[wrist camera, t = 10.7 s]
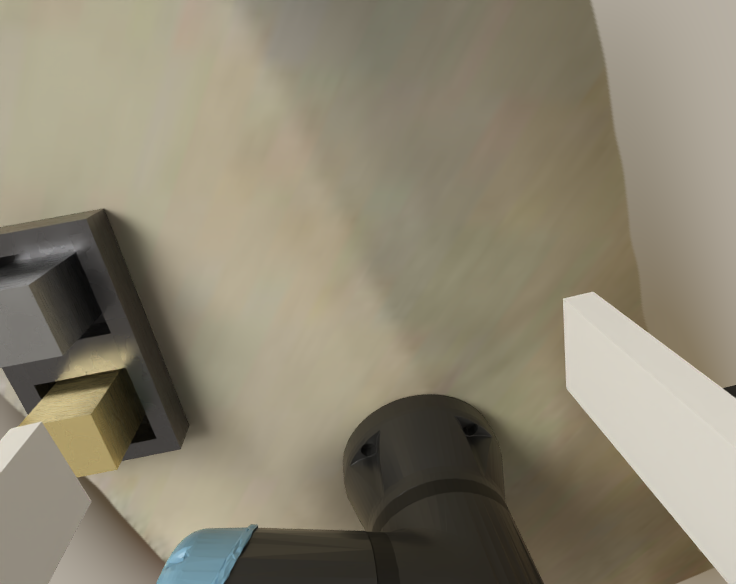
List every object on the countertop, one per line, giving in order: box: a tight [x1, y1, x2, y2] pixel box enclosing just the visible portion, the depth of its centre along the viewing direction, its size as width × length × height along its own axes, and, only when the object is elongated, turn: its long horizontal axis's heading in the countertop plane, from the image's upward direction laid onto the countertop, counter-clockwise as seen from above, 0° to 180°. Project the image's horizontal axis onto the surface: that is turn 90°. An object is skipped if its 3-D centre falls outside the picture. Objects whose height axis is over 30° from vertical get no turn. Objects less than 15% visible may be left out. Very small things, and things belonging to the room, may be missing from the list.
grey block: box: [0, 250, 102, 368], centre depth 33 cm, size 5×5×7 cm
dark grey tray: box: [0, 209, 189, 461], centre depth 37 cm, size 20×10×3 cm, turn 9°
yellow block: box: [18, 368, 146, 477], centre depth 37 cm, size 5×5×7 cm
